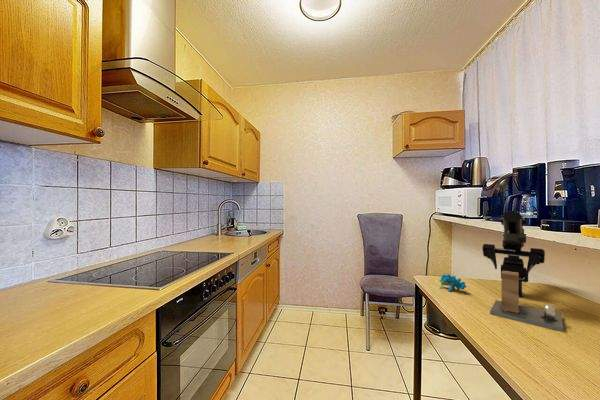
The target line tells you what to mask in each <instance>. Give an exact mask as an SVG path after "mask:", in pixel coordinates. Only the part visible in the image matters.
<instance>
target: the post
mask: <svg viewBox="0 0 600 400" xmlns="http://www.w3.org/2000/svg"><path fill="white" fill-rule="evenodd" d="M519 298H520V297H519V273H517V272H510V271H502V279H501V301H502V310H506V311H510V312H515V313H518V311H519V305H520V304H519V303H520V302H519V301H520V299H519Z"/></svg>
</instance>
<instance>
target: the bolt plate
mask: <svg viewBox="0 0 600 400" xmlns="http://www.w3.org/2000/svg"><path fill="white" fill-rule="evenodd" d="M491 306H492V307H491V308H490V311H489V314H490V315H492V316H496V317H500V318H506V319H509V320H513V321H516V322H517V321H518V322H521V323H526V324H530V325H534V326H538V327H541V328H546V329H550V330H554V331H558V332H563V333H564V324H563V318H562V317H563V315H562V313H558V312H556V307H555V306H554V305H551V304H550V305H549V304H544V305H543V309H540V308H535V307H530V306H525V305H520V304H519V311H518V313H515V312H510V311H506V310H502V300H497V299H496V300H495V301H494V303H493V305H491Z"/></svg>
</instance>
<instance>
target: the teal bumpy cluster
mask: <svg viewBox="0 0 600 400" xmlns="http://www.w3.org/2000/svg"><path fill="white" fill-rule="evenodd" d="M439 282H440V287H439V288H440V289H441V290H442V288H443V286H447V287H448V286H449V288H448V292H452V290H453V289H455V288H456V289H457V290H460V289H461V290H462V291H463V290H465V288H467V285H466V282H465V281H462V278H459V277H458V278H457V277H456V275H453V274H452V276H451V274H449V273H446V274H444V273H443V274H442V275H441V276H440V278H439Z"/></svg>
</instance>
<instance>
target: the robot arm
mask: <svg viewBox="0 0 600 400" xmlns="http://www.w3.org/2000/svg"><path fill="white" fill-rule="evenodd" d="M527 222H528V221H527V219H525V217H524V216H523V215H522V214H520V213H518V212H516V210H513V209H512V210H509V211H507V212H506V213H504V214H503V215H502V217H501V218H500V224H501V225H502V226H503V239H502V245H501V246H502V248H501V247H500V248H499V247H496V244H492V243H491V244H489V243H484V244H482V254H483V257H485V258H487V259H490V260H491V262H492V264H493V266H494V270H497V269H498V264H497V255H496V254H499V255H506V256H505V257H504V258H503V262H502V264H500V279H501V280H502V271H510V272H517V273H519V298H520V297H521V298H523V297H524V294H525V293H524V292H523V283H528V282H529V274H530V272H531V270H533V268H534V267H535V266H536V265H540V264H545V261H546V260H545V258H546V256H545V255H546V253H545V250H544V249H543V248H536V247H529V248H530V250H529V251H527V250H522V248H524V246H525V244H526V243H527V233H526V234H524V230H525V229H524V228H523V227H525V226H526V225H527V224H528V223H527ZM520 257H522V258H520ZM523 257H524V258H528V261H527V264H526V265H527V267H525V262H524V260H523Z"/></svg>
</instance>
